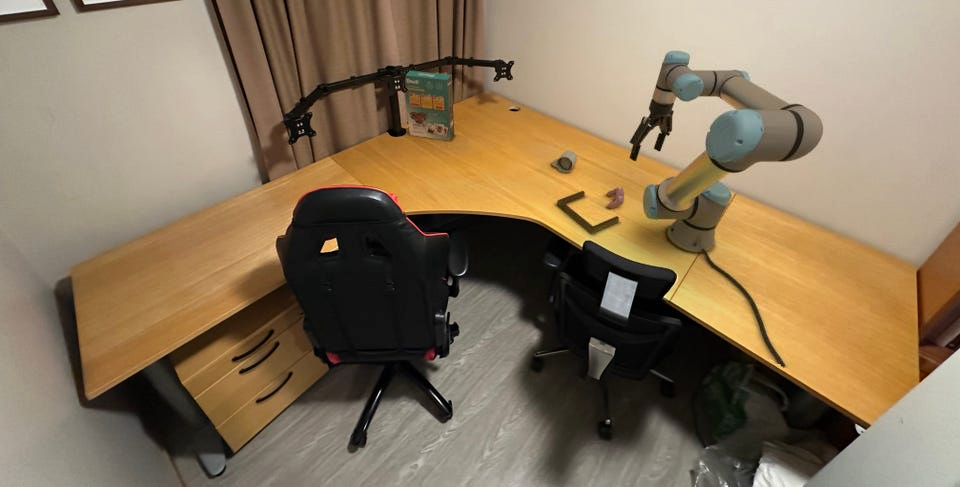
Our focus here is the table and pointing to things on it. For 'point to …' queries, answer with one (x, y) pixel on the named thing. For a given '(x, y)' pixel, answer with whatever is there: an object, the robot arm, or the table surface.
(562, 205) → the holder
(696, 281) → the table surface
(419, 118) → the cake mix box
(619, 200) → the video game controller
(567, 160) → the ceramic mug
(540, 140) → the table surface
